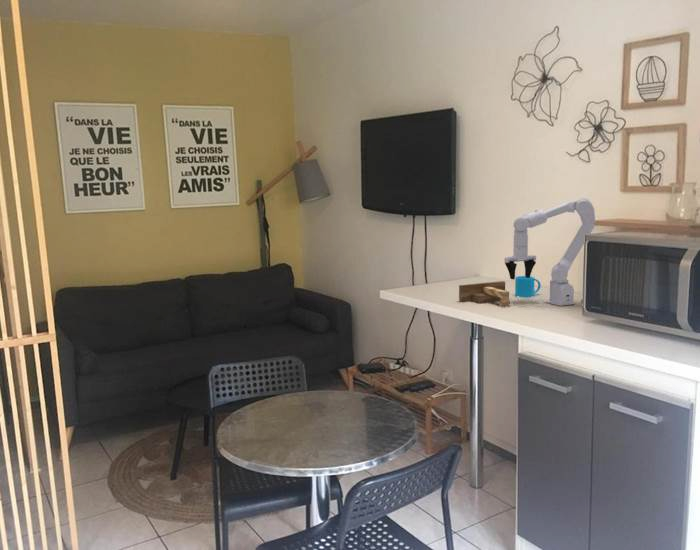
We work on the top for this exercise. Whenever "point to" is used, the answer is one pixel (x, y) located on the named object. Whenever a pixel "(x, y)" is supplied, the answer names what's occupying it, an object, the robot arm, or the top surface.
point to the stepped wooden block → (479, 292)
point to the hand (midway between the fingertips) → (520, 278)
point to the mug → (525, 286)
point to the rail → (498, 295)
